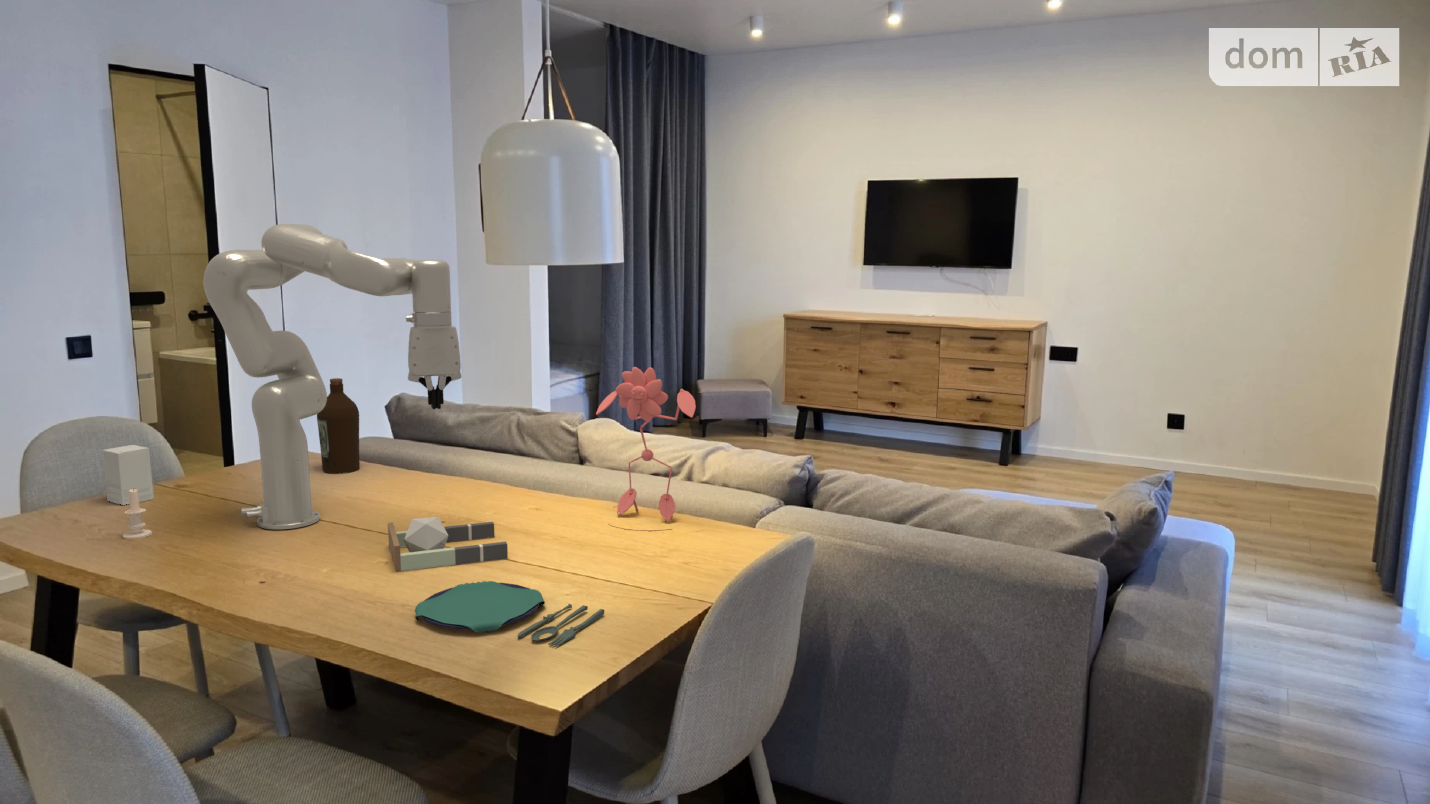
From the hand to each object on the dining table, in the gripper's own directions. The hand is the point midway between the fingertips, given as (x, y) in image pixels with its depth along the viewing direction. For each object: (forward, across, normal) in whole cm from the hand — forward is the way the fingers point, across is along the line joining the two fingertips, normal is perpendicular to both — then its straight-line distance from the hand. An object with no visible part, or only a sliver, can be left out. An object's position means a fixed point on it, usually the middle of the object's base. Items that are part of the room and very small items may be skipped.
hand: (436, 407), depth 194 cm
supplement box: (+27, -65, +53) cm, 88 cm away
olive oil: (+27, -18, +68) cm, 75 cm away
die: (+27, -5, -15) cm, 32 cm away
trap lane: (+27, 0, -14) cm, 31 cm away
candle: (+27, -59, +21) cm, 68 cm away
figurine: (+27, +42, -8) cm, 51 cm away
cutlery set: (+28, +4, -51) cm, 58 cm away
